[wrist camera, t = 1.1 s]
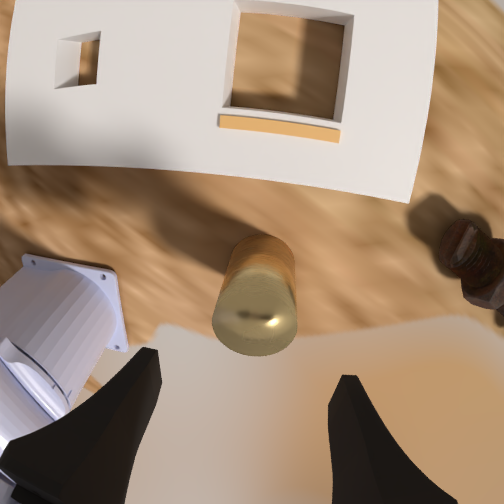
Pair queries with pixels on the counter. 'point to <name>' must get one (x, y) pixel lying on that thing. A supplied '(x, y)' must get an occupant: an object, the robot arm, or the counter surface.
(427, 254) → the counter surface
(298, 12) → the fitting plate
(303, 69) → the counter surface
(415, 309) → the counter surface
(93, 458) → the robot arm
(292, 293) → the brass cylinder
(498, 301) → the bolt
